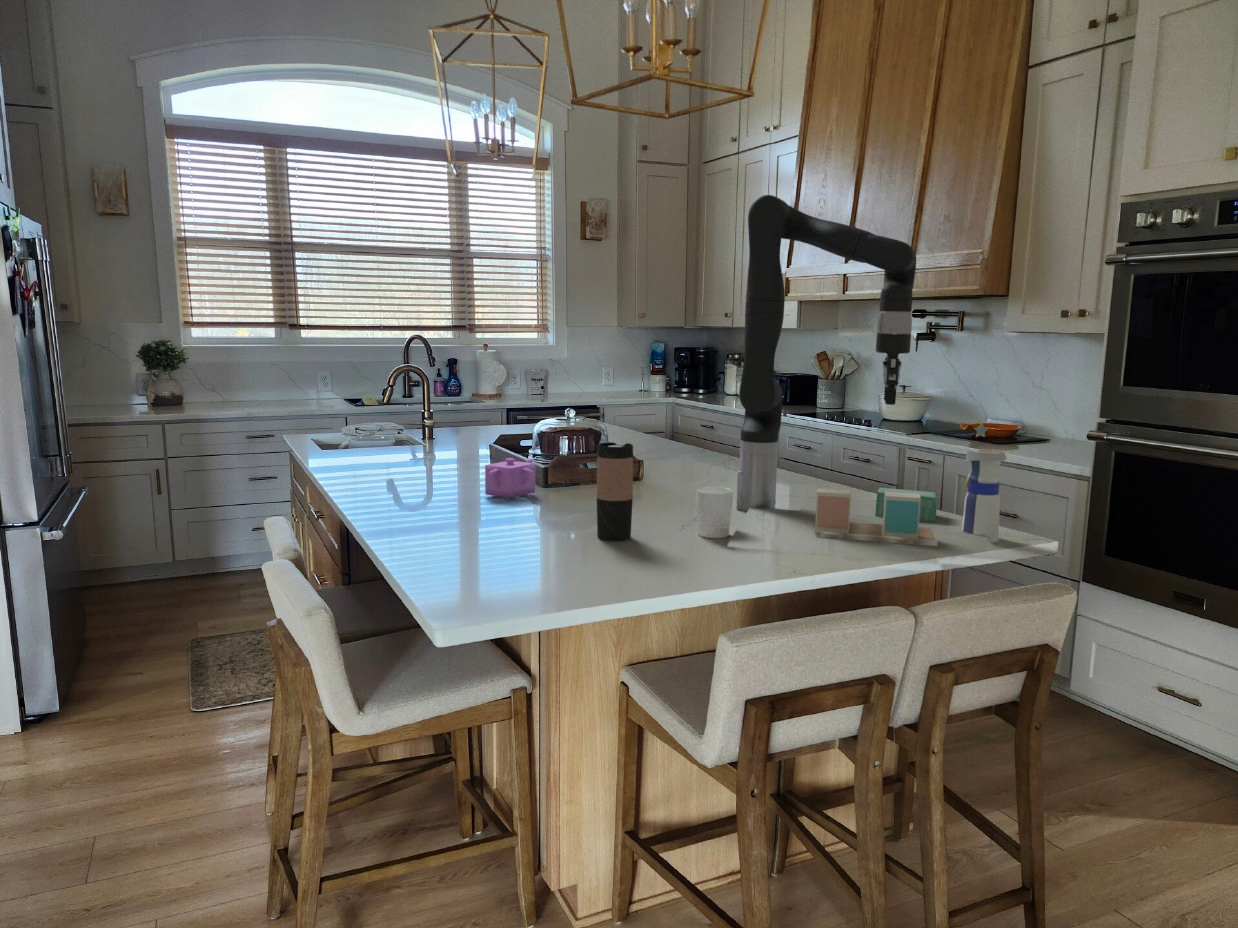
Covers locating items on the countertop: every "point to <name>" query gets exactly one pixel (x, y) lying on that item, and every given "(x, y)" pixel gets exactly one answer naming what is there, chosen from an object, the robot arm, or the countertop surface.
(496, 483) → the teapot
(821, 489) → the faced carton
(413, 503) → the countertop surface
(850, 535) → the board
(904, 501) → the carton
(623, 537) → the travel mug
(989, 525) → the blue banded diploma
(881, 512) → the box
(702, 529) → the white cup
